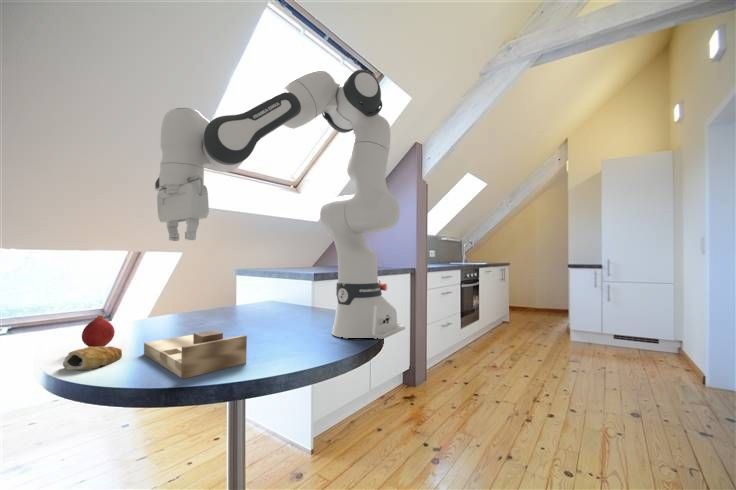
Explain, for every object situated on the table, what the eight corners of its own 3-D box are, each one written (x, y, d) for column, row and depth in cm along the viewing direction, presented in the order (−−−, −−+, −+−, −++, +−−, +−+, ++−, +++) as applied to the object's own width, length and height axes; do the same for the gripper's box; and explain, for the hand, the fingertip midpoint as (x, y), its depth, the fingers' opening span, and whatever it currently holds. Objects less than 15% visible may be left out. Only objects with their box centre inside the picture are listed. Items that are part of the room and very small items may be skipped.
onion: (85, 355, 74) (86, 318, 74) (78, 351, 78) (79, 315, 78) (117, 349, 79) (118, 314, 79) (109, 345, 82) (109, 312, 82)
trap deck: (200, 343, 84) (200, 321, 85) (246, 363, 70) (246, 335, 70) (143, 354, 75) (144, 329, 76) (183, 378, 61) (183, 347, 61)
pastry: (105, 356, 75) (106, 338, 75) (131, 358, 73) (132, 340, 73) (58, 370, 66) (59, 350, 66) (87, 373, 64) (87, 353, 64)
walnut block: (213, 349, 70) (213, 330, 71) (222, 353, 68) (222, 333, 68) (193, 353, 68) (193, 333, 68) (201, 358, 65) (202, 336, 65)
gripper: (216, 176, 75) (216, 239, 74) (180, 187, 88) (179, 241, 88) (186, 171, 70) (185, 239, 70) (152, 184, 83) (151, 241, 83)
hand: (181, 240), depth 79 cm, fingers open, 8 cm apart
